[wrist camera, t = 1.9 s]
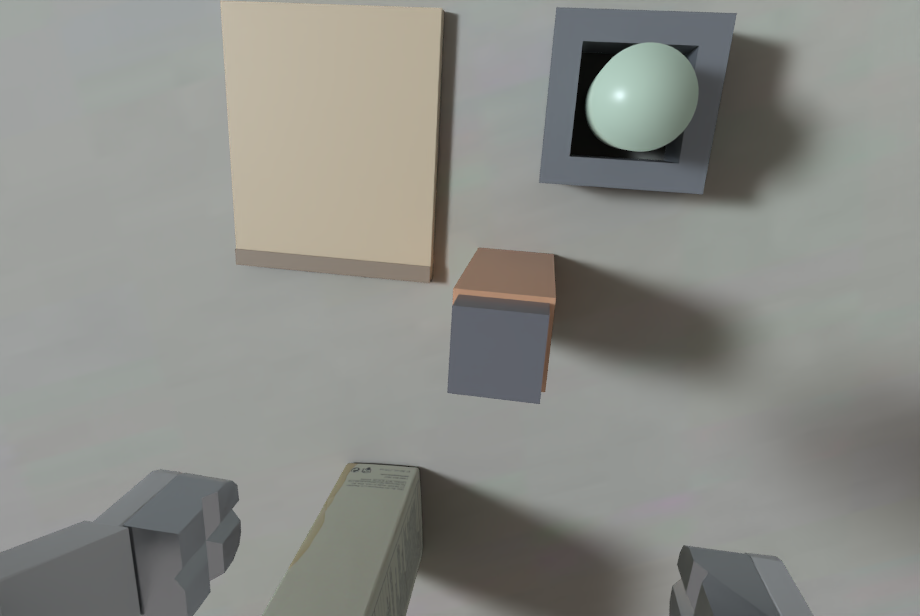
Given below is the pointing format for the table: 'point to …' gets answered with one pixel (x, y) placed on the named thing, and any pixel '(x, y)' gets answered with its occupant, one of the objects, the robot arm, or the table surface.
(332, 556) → the skincare box
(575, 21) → the button housing
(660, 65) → the button plunger
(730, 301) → the table surface
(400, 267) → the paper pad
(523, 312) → the orange grey-capped box
